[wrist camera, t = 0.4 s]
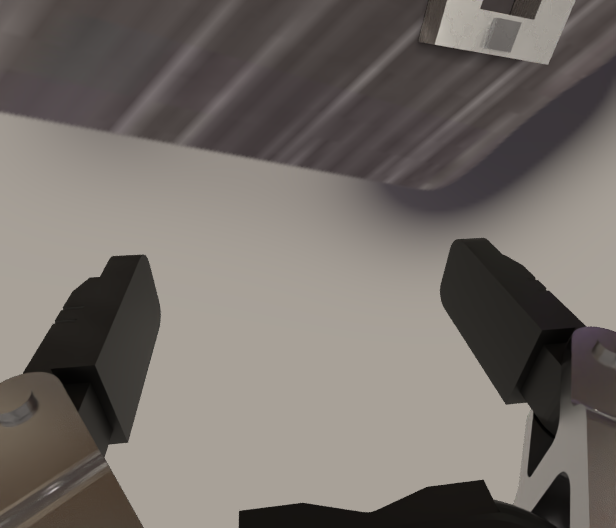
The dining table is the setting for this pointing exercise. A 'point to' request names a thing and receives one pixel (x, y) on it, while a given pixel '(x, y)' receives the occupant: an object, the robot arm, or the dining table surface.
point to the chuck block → (497, 27)
